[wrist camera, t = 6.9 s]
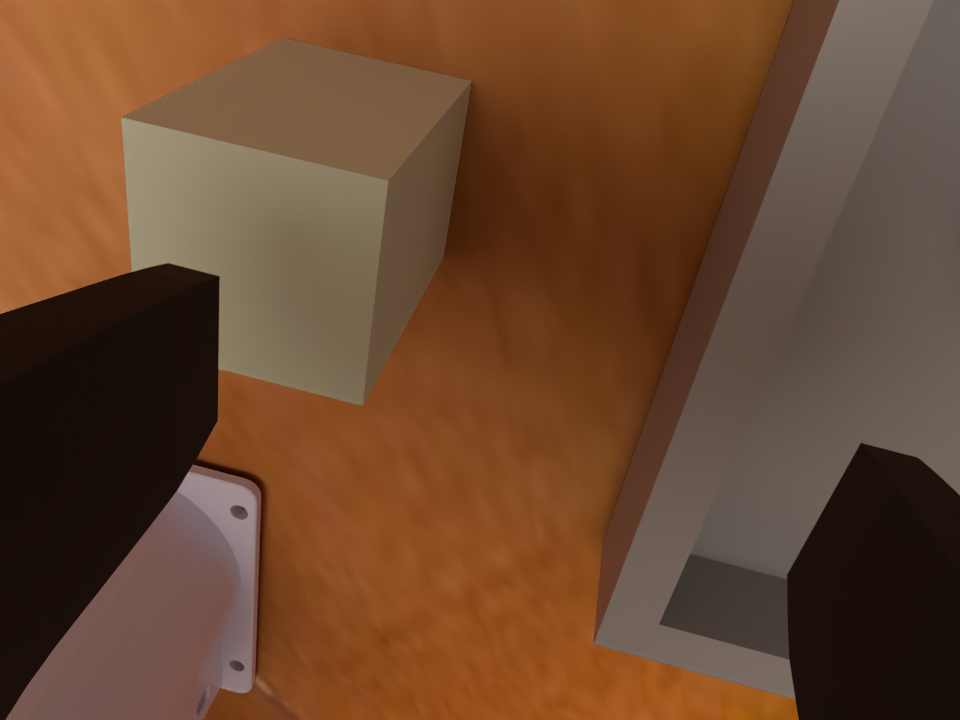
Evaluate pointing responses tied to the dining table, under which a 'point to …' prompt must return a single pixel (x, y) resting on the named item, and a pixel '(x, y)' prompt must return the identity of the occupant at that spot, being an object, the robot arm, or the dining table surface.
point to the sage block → (301, 204)
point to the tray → (799, 339)
